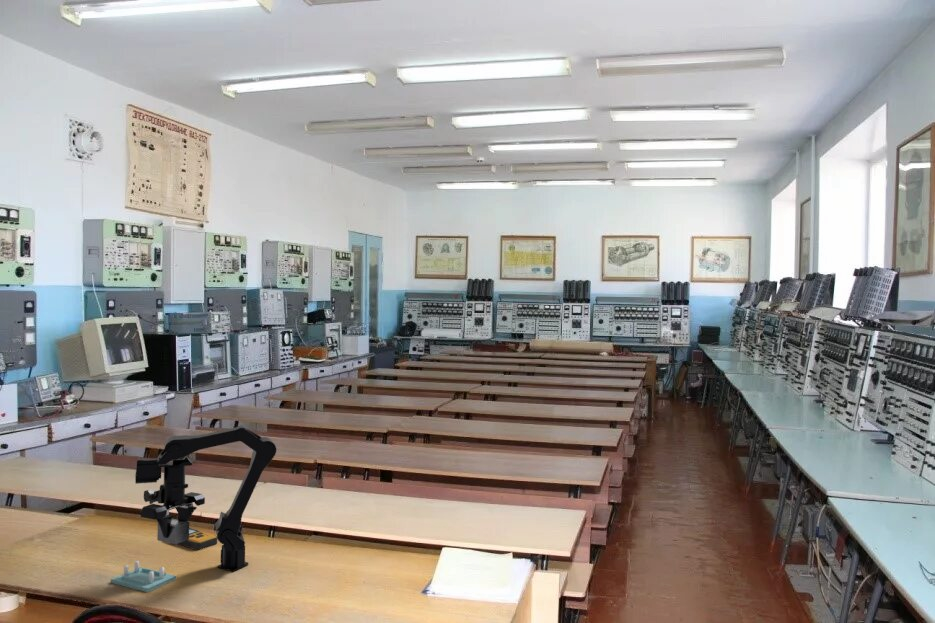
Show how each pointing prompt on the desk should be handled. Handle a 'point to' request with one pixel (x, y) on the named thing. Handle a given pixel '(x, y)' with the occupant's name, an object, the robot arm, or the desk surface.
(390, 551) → the desk surface
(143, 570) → the teal fixture plate
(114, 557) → the desk surface
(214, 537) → the electronic device
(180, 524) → the block
